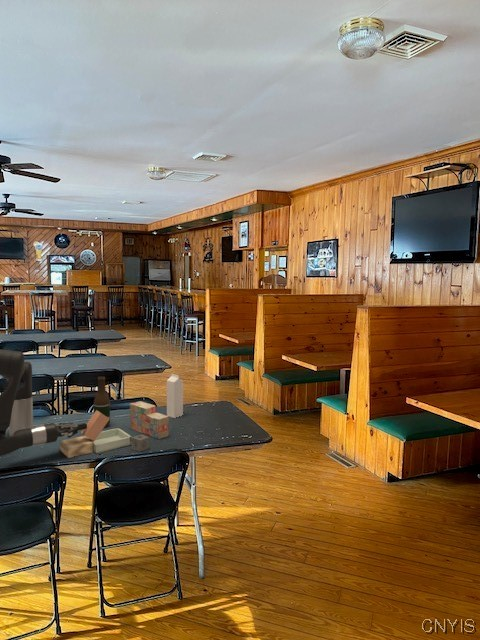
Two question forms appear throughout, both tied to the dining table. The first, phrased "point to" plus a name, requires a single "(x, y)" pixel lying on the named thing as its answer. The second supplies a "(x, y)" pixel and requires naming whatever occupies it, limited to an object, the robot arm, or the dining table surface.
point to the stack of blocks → (148, 420)
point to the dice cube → (140, 443)
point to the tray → (111, 440)
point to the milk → (174, 396)
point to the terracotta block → (95, 425)
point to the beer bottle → (102, 400)
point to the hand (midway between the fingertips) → (86, 425)
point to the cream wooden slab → (76, 446)
